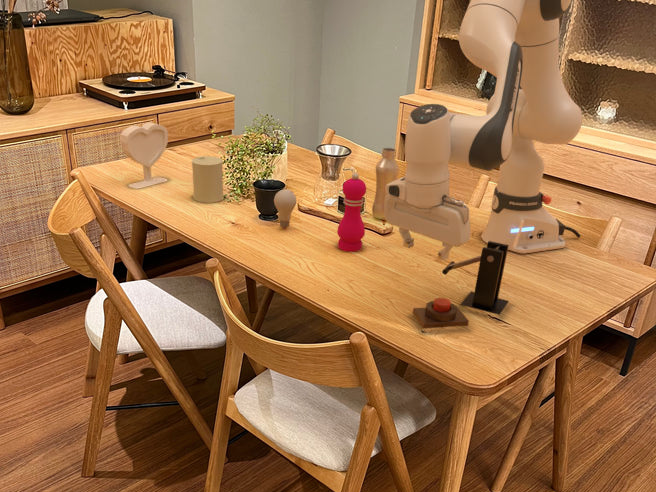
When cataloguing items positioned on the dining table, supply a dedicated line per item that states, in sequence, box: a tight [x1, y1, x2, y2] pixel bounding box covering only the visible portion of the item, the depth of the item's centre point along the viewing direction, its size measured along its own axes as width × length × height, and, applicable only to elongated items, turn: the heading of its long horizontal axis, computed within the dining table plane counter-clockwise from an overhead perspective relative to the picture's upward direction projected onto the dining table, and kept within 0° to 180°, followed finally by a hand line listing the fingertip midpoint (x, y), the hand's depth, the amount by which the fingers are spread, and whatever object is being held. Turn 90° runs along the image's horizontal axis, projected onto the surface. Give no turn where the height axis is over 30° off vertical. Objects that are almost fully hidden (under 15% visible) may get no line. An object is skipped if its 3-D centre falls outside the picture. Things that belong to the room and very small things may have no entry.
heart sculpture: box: [119, 122, 169, 189], centre depth 220 cm, size 16×5×18 cm, turn 138°
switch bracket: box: [460, 241, 509, 316], centre depth 155 cm, size 9×8×15 cm
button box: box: [412, 300, 469, 334], centre depth 151 cm, size 10×7×4 cm
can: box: [191, 155, 225, 204], centre depth 212 cm, size 9×9×12 cm
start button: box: [433, 297, 452, 312], centre depth 149 cm, size 4×4×2 cm
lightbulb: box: [273, 188, 297, 230], centre depth 193 cm, size 6×6×11 cm
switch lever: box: [441, 246, 501, 275], centre depth 155 cm, size 13×6×2 cm
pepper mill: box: [336, 172, 367, 253], centre depth 181 cm, size 7×7×20 cm
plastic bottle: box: [371, 147, 400, 221], centre depth 200 cm, size 6×7×20 cm
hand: (425, 252), depth 149 cm, fingers open, 8 cm apart
